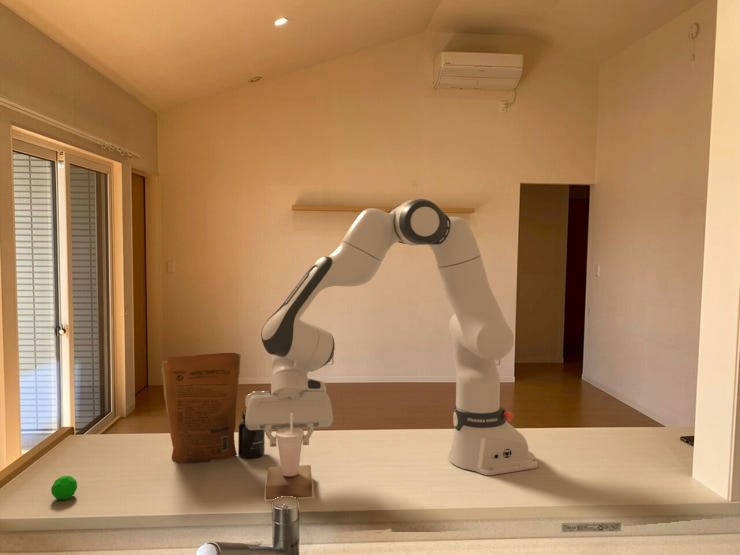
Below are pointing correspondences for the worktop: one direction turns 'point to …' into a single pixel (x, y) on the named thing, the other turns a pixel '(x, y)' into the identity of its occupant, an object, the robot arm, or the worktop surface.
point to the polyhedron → (64, 487)
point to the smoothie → (290, 448)
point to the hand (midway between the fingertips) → (289, 445)
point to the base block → (289, 483)
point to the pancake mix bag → (202, 405)
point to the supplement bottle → (250, 441)
